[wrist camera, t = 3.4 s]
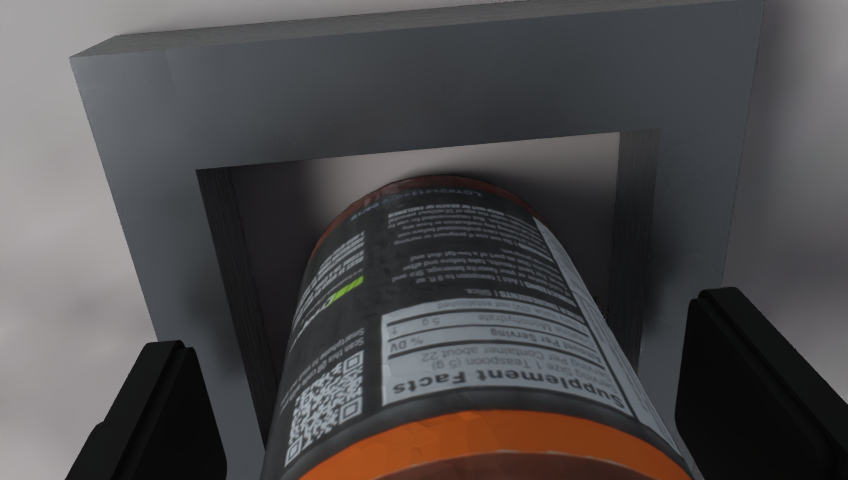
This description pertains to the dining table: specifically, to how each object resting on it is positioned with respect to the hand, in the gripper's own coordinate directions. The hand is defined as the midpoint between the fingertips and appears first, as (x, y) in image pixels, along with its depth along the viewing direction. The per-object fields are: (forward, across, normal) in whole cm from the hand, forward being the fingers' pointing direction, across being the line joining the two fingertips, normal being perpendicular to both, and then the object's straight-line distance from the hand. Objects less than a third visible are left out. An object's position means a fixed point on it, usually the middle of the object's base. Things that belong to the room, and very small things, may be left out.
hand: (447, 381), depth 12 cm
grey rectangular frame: (+3, 0, +6) cm, 7 cm away
